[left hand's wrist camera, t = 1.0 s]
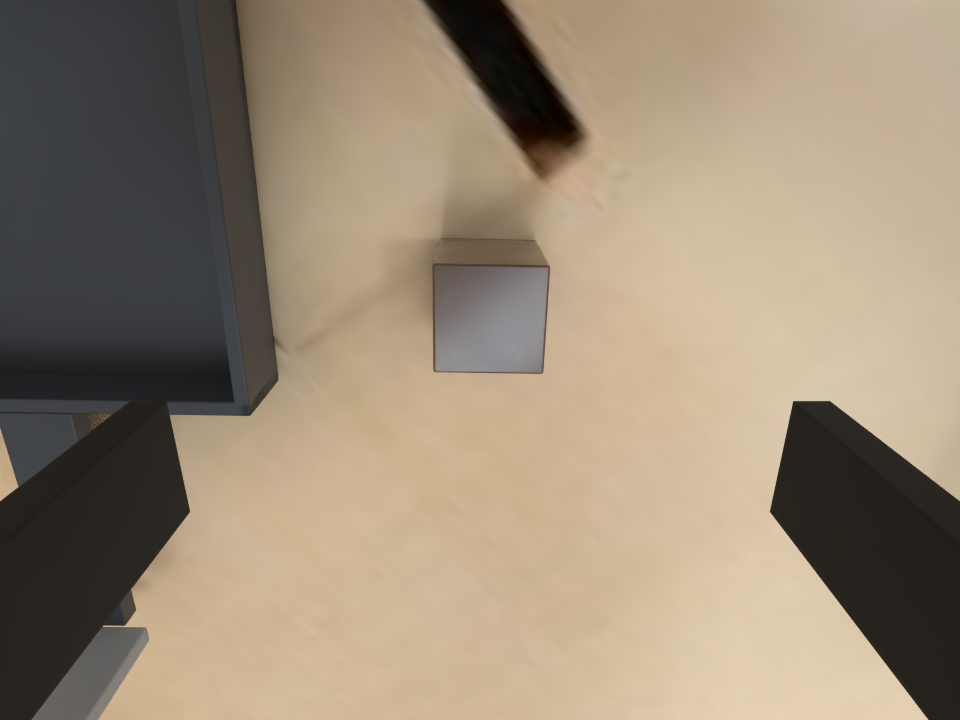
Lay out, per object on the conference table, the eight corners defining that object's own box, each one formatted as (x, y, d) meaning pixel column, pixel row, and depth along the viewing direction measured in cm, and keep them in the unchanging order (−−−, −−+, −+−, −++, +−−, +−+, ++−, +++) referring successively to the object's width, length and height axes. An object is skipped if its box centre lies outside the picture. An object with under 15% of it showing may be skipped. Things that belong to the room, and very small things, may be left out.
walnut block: (536, 240, 25) (550, 265, 20) (531, 331, 26) (543, 374, 21) (440, 238, 25) (432, 263, 20) (440, 329, 26) (433, 372, 21)
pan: (228, -71, 21) (70, -198, 13) (301, 586, 31) (241, 743, 23) (-272, -84, 20) (-755, -223, 12) (-28, 582, 31) (-204, 740, 23)
